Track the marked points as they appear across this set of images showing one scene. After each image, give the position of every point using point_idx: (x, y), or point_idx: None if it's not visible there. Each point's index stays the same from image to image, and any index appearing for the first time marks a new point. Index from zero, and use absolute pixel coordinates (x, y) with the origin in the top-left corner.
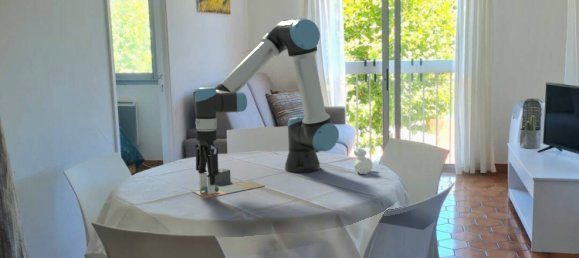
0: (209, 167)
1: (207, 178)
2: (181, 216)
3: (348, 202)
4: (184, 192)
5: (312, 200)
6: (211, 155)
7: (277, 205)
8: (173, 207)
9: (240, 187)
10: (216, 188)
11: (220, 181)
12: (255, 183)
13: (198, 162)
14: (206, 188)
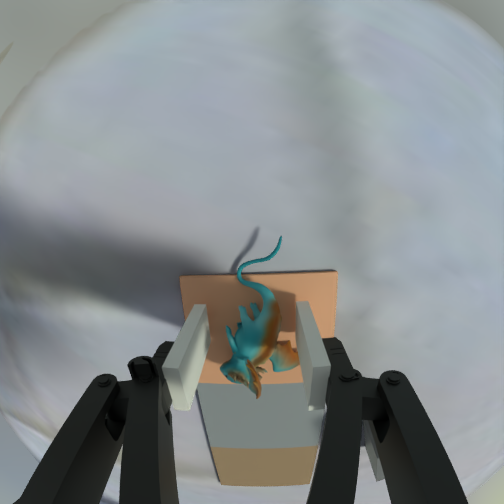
0: (127, 428)
1: (179, 357)
2: (34, 94)
3: (35, 451)
4: (378, 232)
5: None
6: (27, 500)
7: (26, 385)
8: (137, 76)
9: (251, 447)
10: (222, 369)
11: None
12: (266, 482)
13: (396, 436)
14: (245, 327)
